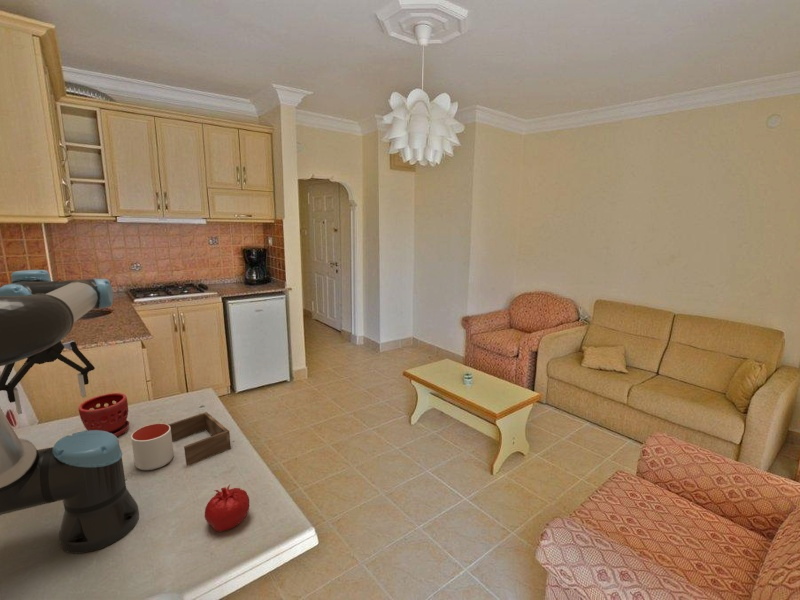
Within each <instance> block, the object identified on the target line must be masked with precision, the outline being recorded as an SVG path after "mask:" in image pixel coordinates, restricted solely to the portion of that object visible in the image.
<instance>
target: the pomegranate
mask: <svg viewBox="0 0 800 600" xmlns="http://www.w3.org/2000/svg"><path fill="white" fill-rule="evenodd" d="M230 486H231V484H229V485H228V486H227V487H226V486H225V487H222V488H220V489H221V491H220V490H219V489H216V490H214V492H216V493H215V494H214V496H213V497H211V498H210V500H209V501H208V502H207V504H206V506H205V507H204V509H205V510H204V519H205V521H206V523H207V524H209V526H210V527H212V528H213V530H214V531H216V532H225V531H228V530H231V529H233V528H235V527H236V526H238V525H239V524H240V523H242V522H243V520H245V519H246V517H247V515H248V513H249V510H250V506H251V505H250V498H249V495H248V493H247V491H246V490H245V489H242V488H241V487H234V488H230Z"/></svg>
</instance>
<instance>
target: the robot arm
mask: <svg viewBox="0 0 800 600" xmlns="http://www.w3.org/2000/svg"><path fill="white" fill-rule="evenodd" d="M10 276H11V277H10V278H11V280H10V283H6V284H5V285H2V286H1V287H0V367H3V366H4V367H3V369H2V371H1V374H0V391H1V392H2V391H3V392H4V391H5V392H6V393H7V394H6V395H7V400H8V402H10V404H11V403H14V404H15V405H14V406H15V409H16V413H17V415H21V414H23V411H22V404H21V399H20V395H19V389H18V387H17V385H18V384H19V383H20V382H21V380H23V378H24V377H25V376H26V374H27V373H28V372H29V371H30V369H31V368H33V367H34V365H35V364H36V365H43V364H45V363H53V362H55V361H56V360H59V361H60V362H63V364H65V365H67V366H69V367H71V368H72V369H74V370H76V371H77V372H79V373H77V375H76V376H77V380H78V381H77V382H78V385H79V386H78V387H79V393H80V396H81V397H82V398H87V392H86V385H88V384H89V377H88V376H89V375H88V374H89V373H90V372H91V371H94V370H95V369H96V368H95V366H94V365H93V364H92V362H91V361H90V360H88V358H87V356H85V355H84V354H83V353H82V352H81V350H79V347H78V344H77V342H76V341H75V340H69V341H68V342H67V341H66V342H64V343H63V342H62V340H64V339H65V338H66V337H67V336H68V335H69V334H70V332H71V331H72V329H73V327H74V325H75V322H77V321H78V320H79V319H81V318H83V316H85V315H86V314H88V312H90V311H91V310H94V309H98V310H100V309H103V308H109V307H111V306H112V305H113V303H114V293H113V286H112V283H111V282H110V280H109V279H107V278H90V279H88V278H87V279H74V280H73V279H72V280H71V279H70V280H54V281H53V280H52V278H51V275H50V272H49V271H47V270H46V269H28V270H27V269H25V270H18V271H13V272H12V273H11V275H10ZM64 349H67V350H69V351H71V352H73V354H74V355H75V356H76V357H77V358H78V359H79V360H80V361H81V362H82V363H83V364H84V365H85V367H83V366H81V365H80V364H78V363H76V362H74V361H73V360H71V359H69V358H68V357H67V356H65V355H63V353H62V352H63V350H64ZM25 359H26V360H25ZM22 360H25V361H24V363H23V364H22V365H21V367H19V370H17V372H16V373H15V374H14V375H13V377H12V378H11V379H10V380H9V382H8V383H7V381H8V379H9V377H10V375H11V373H12V371H13V369H14V366H15V364H16V363H17V362H20V361H22ZM61 501H62V503H63V507H64V508H63V509H64V512H63V516H62V520H61V524H60V528H59V534H58V537H59V538H58V539H59V542H60V546H61V549H63V550H64V551H65V552H67V551H68V552H67V553H70V552H71V553H72V554H83V553H84V554H85V553H90V552H94V551H98V550H100V549H103V548H105V547H107V546H110V545H112V544H113V543H116V542H117V541H119V540H120V539H122V538H124V537H125V536H126V535H127V534H128V533H130V531H132V530H133V529H134V527H136V525H137V523H138V522H139V519H140V511H139V505H138V503H137V502H136V500H135V499H134V497H133V495H132V494H131V493H130V492H129V490H128V489H127V484H126V476H125V470H124V463H123V452H122V449H121V446H120V441H119V439H118V436H115V435H114V434H112V433H109V432H107V431H100V430H90V431H88V430H82V431H78V432H74V433H72V434H71V435H66V436H63V437H62V438H60V439H59V440H57V441H56V442H55V443H54V445H53V447H46V448H42V449H37V448H36V445H35V444H33V442H32V441H30V440H28V439H24V438H21V437H20V438H19V436H18V434H17V433H16V431H15V429H14V428H13V426H12V424H11V423H10V422H9V420H8V418H7V416H6V415H5V413H4V412H3V409H2V408H1V407H0V516H3V515H6V514H10V513H14V512H18V511H21V510H25V509H30V508H34V507H35V508H36V507H39V506H43V505H46V504H51V503H55V502H61ZM71 553H70V554H71Z"/></svg>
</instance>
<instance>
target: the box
mask: <svg viewBox="0 0 800 600" xmlns="http://www.w3.org/2000/svg"><path fill="white" fill-rule="evenodd" d="M167 425H169V426H170V427H171V435H172V443H173V442H178V441H180V440H182V439H184V438H189V436H190V437H191V436H193V435H195V434H199V433H201V432H204V431H206V432H208V433H209V434H210V435H211V436H208V437H205V438H203V439H200V440H198V441H195V442H192V443H189V444H186V445H183V448H184V455H185V456H184V457H185V464H186V466H187V467H189V466H191V465H193V464H196V463H198V462H200V461H203V460H205V459H208V458H210V457H213V456H215V455H217V454H221V453H222V452H225V451H227V450H230V449H231V448H232V447H231V446H232V445H231V436H230V435H231V434H230V430H229V429H227V427H225V426H224V425H223V424H222V423H220V422H219V421H218V420H217V419H216V418H214V417H213V416H212V415H211V414H210V413H208V412H207V411H205V412H202V413H199V414H196V415H193V416H190V417H186V418H184V419H181V420H177V421H174V422H172V423H168V424H167Z"/></svg>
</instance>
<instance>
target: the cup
mask: <svg viewBox="0 0 800 600" xmlns="http://www.w3.org/2000/svg"><path fill="white" fill-rule="evenodd" d="M130 439H131V446H132V453H133V459H134V461H133V462H134V465H135V468H137V469H139V470H141V471H153V470H156V469H160V468H162V467H164V466H166V465H167V464H169V463H170V462H171V461H172V459H173V458H174V453H175V452H174V445H173V444H174V443H173V442H172V435H171V427H170V426H169V425H168V424H167V423H164V422H163V423H162V422H161V423H151V424H148V425H144V426H142V427H140V428H137V429H136V430H134V431H133V432H132V433H131V436H130Z"/></svg>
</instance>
